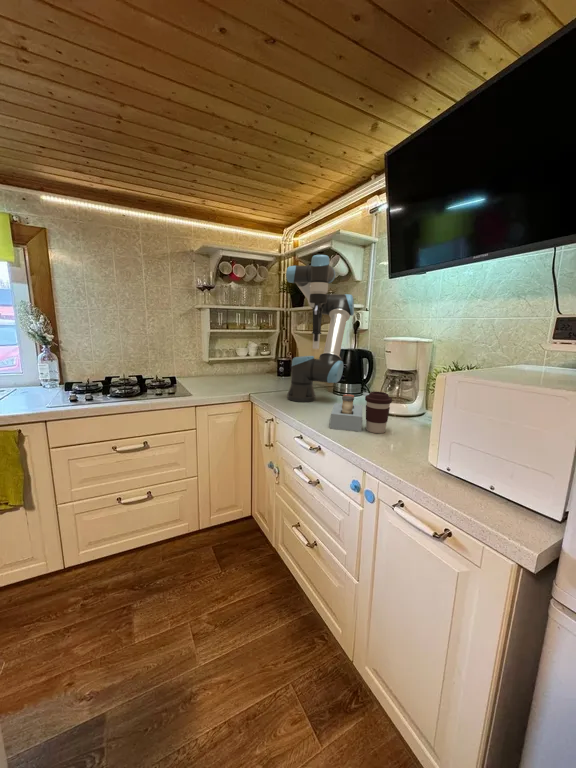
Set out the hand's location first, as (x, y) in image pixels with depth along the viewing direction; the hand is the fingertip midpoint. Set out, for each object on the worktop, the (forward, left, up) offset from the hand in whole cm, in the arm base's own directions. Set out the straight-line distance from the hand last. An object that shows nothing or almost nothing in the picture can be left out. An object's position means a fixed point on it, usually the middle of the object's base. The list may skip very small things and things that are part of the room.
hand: (315, 348), depth 141 cm
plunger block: (+11, +16, -29) cm, 35 cm away
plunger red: (+6, +16, -28) cm, 32 cm away
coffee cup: (+17, +28, -30) cm, 44 cm away
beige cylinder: (+16, +16, -26) cm, 34 cm away
